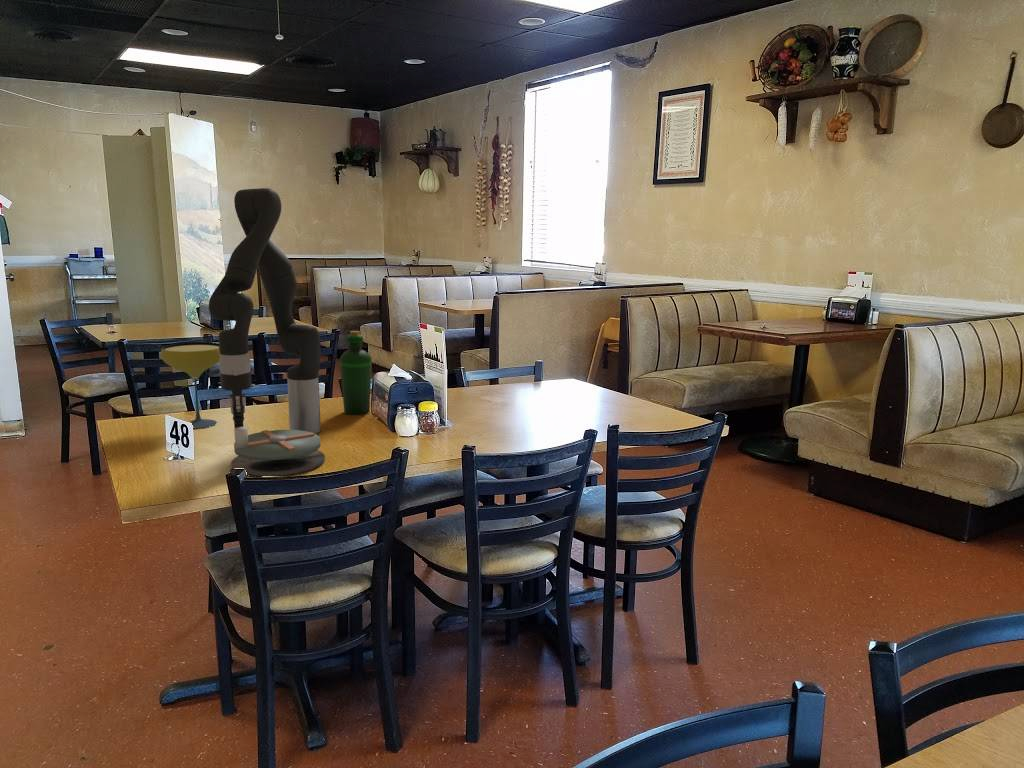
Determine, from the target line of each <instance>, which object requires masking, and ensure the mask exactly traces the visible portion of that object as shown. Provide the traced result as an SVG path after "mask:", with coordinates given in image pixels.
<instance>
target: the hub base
mask: <svg viewBox="0 0 1024 768" xmlns="http://www.w3.org/2000/svg"><path fill="white" fill-rule="evenodd" d="M325 460H326V457H325V454H324V453H323V452H322V451H321V450H319V449H318V450H316V451H315V452H313V453H310V454H308V455H305V456H301V457H296V458H291V459H283V460H253V459H247V458H243V457H240V456H238V455H237V456H235V457H234V458H233V459H232V460H231V463H230V465H231V469H232V468H233V469H234V468H244V469H245V470H246V472H247V476H246V477H250V478H259V477H262V476H287V477H291V476H292V477H293V476H298V475H302V473H303V474H306V473H309V472H312V471H315V470H317V469H319V468H320V467H322V465H324V463H325V462H326V461H325ZM248 475H249V476H248Z"/></svg>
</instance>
